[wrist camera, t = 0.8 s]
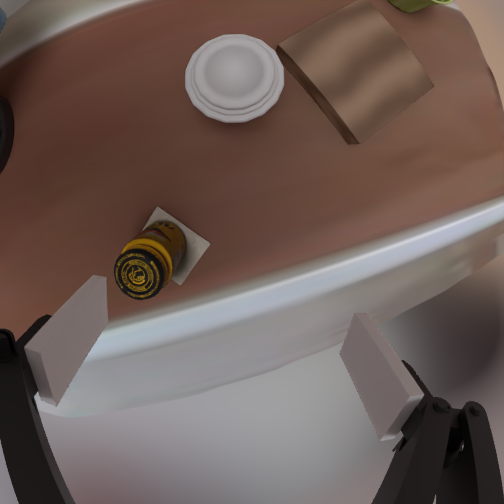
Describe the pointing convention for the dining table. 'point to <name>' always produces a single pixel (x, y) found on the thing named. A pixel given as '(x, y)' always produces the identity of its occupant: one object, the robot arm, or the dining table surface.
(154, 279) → the condiment
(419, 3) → the plant pot
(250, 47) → the coffee cup
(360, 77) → the base slab
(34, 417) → the robot arm
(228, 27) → the dining table surface
